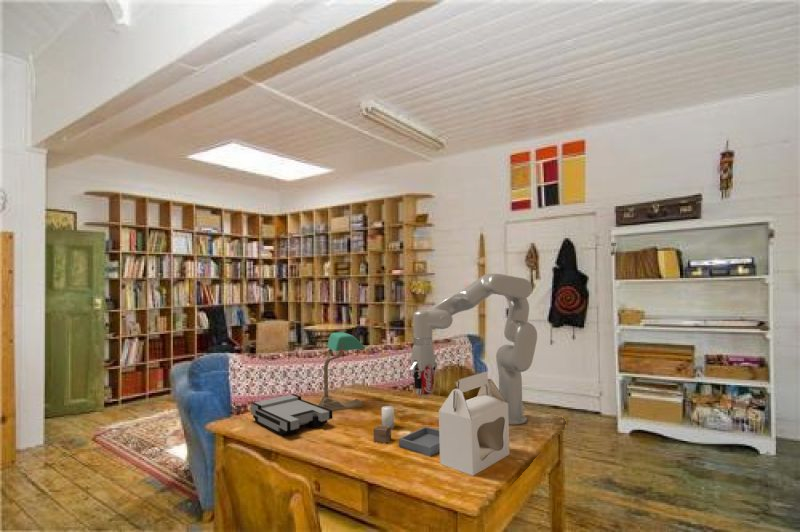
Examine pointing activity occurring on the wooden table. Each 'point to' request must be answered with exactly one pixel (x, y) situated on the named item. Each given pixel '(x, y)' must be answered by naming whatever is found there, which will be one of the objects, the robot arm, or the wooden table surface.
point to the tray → (422, 441)
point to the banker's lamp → (335, 343)
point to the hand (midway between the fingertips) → (424, 385)
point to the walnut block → (382, 434)
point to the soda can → (426, 382)
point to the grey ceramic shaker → (388, 416)
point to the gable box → (473, 426)
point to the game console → (289, 414)
